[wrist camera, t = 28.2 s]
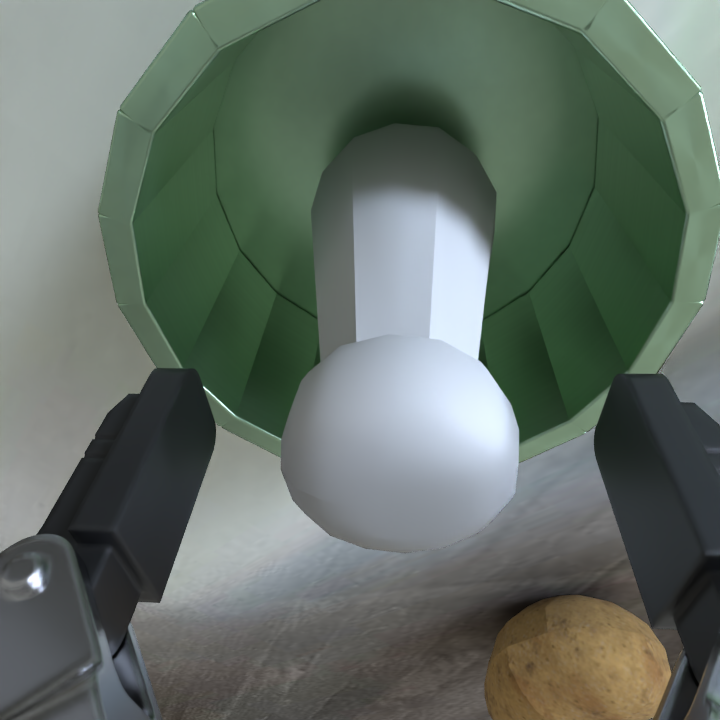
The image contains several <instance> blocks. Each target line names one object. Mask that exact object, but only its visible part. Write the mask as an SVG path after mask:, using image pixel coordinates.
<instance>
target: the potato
mask: <svg viewBox="0 0 720 720" xmlns="http://www.w3.org/2000/svg"><path fill="white" fill-rule="evenodd" d="M670 676H671V671H670V667H669V663H668V659H667V655H666V651H665V649H664V647H663V646H662V644H661V643H660V641H659V640H658V639H657V637H656V636H655V634H654V633H653V631H652V630H651V629H650V627H649V626H648V624H646V623H645V622H643V621H642V620H641V619H639V618H638V617H636V616H635V615H633V614H632V613H631V612H629V611H627V610H625V609H623V608H622V607H620V606H618V605H616V604H614V603H612V602H609V601H604V600H600V599H596V598H592V597H587V596H582V595H562V596H556V597H551V598H546V599H542V600H540V601H538V602H536V603H534V604H532V605H529V606H528V607H526V608H525V609H524V610H522V611H521V612H520V613H518V614H517V615H516V616H514V617H513V618H512V619H510V620H509V621H508V622H507V623H506V624H505V625H504V627H503V628H502V629H501V631H500V632H499V633H498V635H497V638H496V641H495V645H494V648H493V651H492V654H491V657H490V660H489V663H488V668H487V674H486V679H485V699H486V704H487V708H488V712H489V714H490V716H491V717H492V719H493V720H648V719H650V718H652V717H654V716H655V713H656V711H657V709H658V706H659V704H660V701H661V699H662V696H663V694H664V691H665V689H666V686H667V684H668V681H669V679H670Z"/></svg>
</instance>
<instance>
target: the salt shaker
mask: <svg viewBox="0 0 720 720" xmlns="http://www.w3.org/2000/svg"><path fill="white" fill-rule="evenodd" d="M496 197H497V192H496V190H495V188H494V187H493V185H492V183H491V181H490V179H489V177H488V175H487V174H486V172H485V170H484V168H483V166H482V164H481V163H480V161H479V159H478V157H477V156H476V155H475V154H474V153H473V152H472V151H471V150H469V149H468V148H467V147H465V146H464V145H463V144H461V143H460V142H458V141H457V140H456V139H454V138H453V137H451V136H450V135H449V134H447V133H446V132H444V131H443V130H442V129H440V128H439V127H430V126H420V125H409V124H398V123H394V124H391V125H388V126H385V127H382V128H379V129H376V130H373V131H371V132H368V133H365V134H362V135H359V136H356V137H354V138H353V139H352V140H351V141H350V142H349V143H348V144H347V145H346V147H345V148H344V149H343V150H342V151H341V152H340V153H339V154H338V155H337V156H336V158H335V159H334V160H333V161H332V162H331V163H330V164H329V165H328V166H327V167H326V169H325V170H324V171H323V172H322V174H321V178H320V181H319V184H318V188H317V191H316V195H315V198H314V201H313V205H312V208H311V223H312V238H313V253H314V269H315V284H316V299H317V314H318V329H319V344H320V359H321V362H320V363H319V364H318V365H316V366H315V367H314V368H313V369H312V370H310V371H309V372H308V373H307V374H306V376H305V377H304V378H303V379H302V381H301V382H300V385H299V388H298V391H297V393H296V396H295V399H294V401H293V404H292V407H291V410H290V412H289V415H288V418H287V422H286V425H285V428H284V432H283V435H282V438H281V471H282V474H283V476H284V479H285V481H286V484H287V487H288V489H289V492H290V495H291V497H292V500H293V501H294V502H295V503H296V504H297V505H298V506H299V508H300V509H301V510H302V511H303V512H304V513H305V514H306V515H307V516H308V517H309V518H311V519H312V520H313V521H314V522H315V523H316V524H318V525H319V526H320V527H321V528H322V529H323V530H324V531H326V532H327V533H328V534H329V535H330V536H333V537H336V538H338V539H341V540H344V541H346V542H349V543H352V544H355V545H357V546H360V547H363V548H365V549H373V550H382V551H391V552H399V553H411V552H418V551H425V550H432V549H439V548H445V547H448V546H450V545H452V544H455V543H457V542H459V541H462V540H464V539H466V538H468V537H471V536H473V535H475V534H478V533H479V532H480V531H481V530H483V529H484V528H485V527H486V526H487V525H488V524H490V523H491V522H492V521H493V519H494V518H495V517H496V516H497V515H498V514H499V513H500V511H501V510H502V509H503V508H504V507H505V506H506V505H507V503H508V502H509V501H510V500H511V499H512V498H513V497H514V495H515V491H516V481H517V472H518V463H519V428H518V425H517V421H516V418H515V415H514V412H513V409H512V405H511V403H510V402H509V400H508V399H507V398H506V396H505V395H504V393H503V392H502V390H501V389H500V387H499V386H498V384H497V383H496V381H495V380H494V378H493V377H492V375H491V374H490V373H489V371H488V370H487V369H486V367H485V366H484V365H483V364H482V363H481V362H480V361H478V356H479V347H480V338H481V329H482V320H483V311H484V302H485V293H486V286H487V279H488V272H489V266H490V259H491V253H492V246H493V240H494V233H495V216H496Z"/></svg>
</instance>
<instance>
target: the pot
mask: <svg viewBox="0 0 720 720" xmlns="http://www.w3.org/2000/svg"><path fill="white" fill-rule="evenodd" d="M700 90H701V86H700V85H699V84H698V83H697V82H696V81H695V79H694V78H693V77H692V76H691V75H690V73H689V72H688V71H687V70H686V69H685V67H684V66H683V65H682V64H681V63H680V62H679V60H678V59H677V58H676V57H675V56H674V54H673V53H672V52H671V51H670V50H669V49H668V47H667V46H666V45H665V44H664V43H663V41H662V40H661V39H660V38H659V37H658V36H657V34H656V33H655V32H654V31H653V30H652V28H651V27H650V26H649V25H648V24H647V23H646V21H645V20H644V19H643V18H642V17H641V15H640V14H639V13H638V12H637V11H636V10H635V8H634V7H633V6H632V5H631V4H630V2H629V1H628V0H204V1H203V2H201V3H199V4H197V5H195V7H194V8H193V10H191V11H189V12H188V13H187V14H186V16H185V17H184V19H183V20H182V21H181V23H180V24H179V26H178V27H177V28H176V30H175V31H174V32H173V34H172V35H171V37H170V38H169V39H168V41H167V42H166V43H165V45H164V46H163V48H162V49H161V50H160V52H159V53H158V54H157V56H156V57H155V59H154V60H153V61H152V63H151V64H150V66H149V67H148V68H147V70H146V71H145V72H144V74H143V75H142V77H141V78H140V79H139V81H138V82H137V83H136V85H135V86H134V88H133V89H132V90H131V92H130V93H129V94H128V96H127V97H126V99H125V100H124V101H123V103H122V104H121V106H120V110H118V112H117V116H116V121H115V126H114V131H113V136H112V142H111V147H110V152H109V157H108V162H107V167H106V172H105V178H104V183H103V188H102V193H101V198H100V203H99V208H98V213H99V215H98V217H99V222H100V227H101V231H102V236H103V241H104V246H105V250H106V255H107V260H108V265H109V269H110V274H111V279H112V283H113V288H114V293H115V298H116V302H117V303H118V306H119V308H120V310H121V311H122V313H123V314H124V316H125V318H126V319H127V321H128V323H129V324H130V326H131V327H132V329H133V331H134V332H135V334H136V335H137V337H138V339H139V340H140V342H141V344H142V345H143V347H144V348H145V350H146V352H147V353H148V355H149V356H150V358H151V360H152V361H153V363H154V365H155V366H156V368H193V369H196V370H197V372H198V373H199V376H200V378H201V381H202V384H203V387H204V390H205V393H206V396H207V399H208V402H209V405H210V408H211V411H212V414H213V417H214V420H215V423H216V424H217V425H218V426H222V428H223V429H225V430H227V431H229V432H231V433H233V434H235V435H237V436H239V437H241V438H243V439H245V440H247V441H249V442H251V443H253V444H255V445H257V446H259V447H261V448H263V449H265V450H267V451H269V452H271V453H273V454H275V455H277V456H279V457H281V438H282V435H283V432H284V428H285V425H286V422H287V418H288V415H289V412H290V410H291V407H292V404H293V401H294V399H295V396H296V393H297V391H298V388H299V385H300V382H301V381H302V379H303V378H304V377H305V376H306V374H307V373H308V372H309V371H310V370H312V369H313V368H314V367H315V366H316V365H318V364H319V363H320V362H321V359H320V344H319V329H318V314H317V299H316V284H315V269H314V253H313V238H312V223H311V208H312V205H313V201H314V198H315V195H316V191H317V188H318V184H319V181H320V178H321V174H322V172H323V171H324V170H325V169H326V167H327V166H328V165H329V164H330V163H331V162H332V161H333V160H334V159H335V158H336V156H337V155H338V154H339V153H340V152H341V151H342V150H343V149H344V148H345V147H346V145H347V144H348V143H349V142H350V141H351V140H352V139H353V138H354V137H356V136H359V135H362V134H365V133H368V132H371V131H373V130H376V129H379V128H382V127H385V126H388V125H391V124H394V123H398V124H409V125H420V126H430V127H439V128H440V129H442V130H443V131H444V132H446V133H447V134H449V135H450V136H451V137H453V138H454V139H456V140H457V141H458V142H460V143H461V144H463V145H464V146H465V147H467V148H468V149H469V150H471V151H472V152H473V153H474V154H475V155H476V156H477V157H478V159H479V161H480V163H481V164H482V166H483V168H484V170H485V172H486V174H487V175H488V177H489V179H490V181H491V183H492V185H493V187H494V188H495V190H496V192H497V197H496V216H495V233H494V240H493V246H492V253H491V259H490V266H489V272H488V279H487V286H486V293H485V302H484V311H483V320H482V329H481V338H480V347H479V356H478V361H480V362H481V363H482V364H483V365H484V366H485V367H486V369H487V370H488V371H489V373H490V374H491V375H492V377H493V378H494V380H495V381H496V383H497V384H498V386H499V387H500V389H501V390H502V392H503V393H504V395H505V396H506V398H507V399H508V400H509V402H510V403H511V405H512V409H513V412H514V415H515V418H516V421H517V425H518V428H519V463H521V462H523V461H525V460H527V459H529V458H532V457H534V456H536V455H538V454H541V453H543V452H545V451H547V450H550V449H552V448H554V447H556V446H558V445H561V444H563V443H565V442H567V441H570V440H572V439H574V438H576V437H579V436H581V435H583V434H584V433H585V432H588V431H589V430H591V429H592V428H593V427H594V426H596V425H597V423H598V420H599V417H600V414H601V412H602V409H603V406H604V403H605V400H606V398H607V395H608V392H609V389H610V386H611V384H612V381H613V379H614V377H615V376H616V375H617V374H657V373H658V371H659V370H660V368H661V367H662V365H663V364H664V362H665V361H666V359H667V358H668V356H669V355H670V353H671V352H672V350H673V349H674V347H675V346H676V344H677V343H678V341H679V340H680V338H681V337H682V335H683V334H684V332H685V331H686V329H687V328H688V326H689V325H690V323H691V322H692V320H693V319H694V317H695V316H696V314H697V313H698V311H699V310H700V308H701V307H702V305H703V301H704V300H705V299H706V294H707V290H708V285H709V281H710V276H711V272H712V267H713V263H714V258H715V254H716V249H717V245H718V240H719V236H720V168H719V164H718V159H717V155H716V150H715V146H714V141H713V137H712V132H711V128H710V124H709V119H708V115H707V110H706V106H705V101H704V97H703V93H702V92H701V91H700Z"/></svg>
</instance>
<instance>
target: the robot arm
mask: <svg viewBox="0 0 720 720" xmlns="http://www.w3.org/2000/svg"><path fill="white" fill-rule="evenodd" d="M215 439H216V426H215V420H214V417H213V414H212V411H211V408H210V405H209V402H208V399H207V396H206V393H205V390H204V387H203V384H202V381H201V378H200V376H199V373H198V372H197V370H196V369H193V368H156V369H154V370H153V371H152V372H151V374H150V376H149V377H148V379H147V381H146V383H145V385H144V387H143V389H142V390H141V392H140V394H128V395H127V396H126V397H125V398H124V399H123V400H122V401H120V402H119V403H118V404H117V405H116V406H115V407H114V408H113V409H112V410H110V411H109V412H108V413H107V415H106V417H105V419H104V420H103V422H102V424H101V426H100V427H99V429H98V431H97V432H96V434H95V439H92V441H91V443H90V445H89V446H88V448H87V450H86V451H85V457H84V458H81V460H80V462H79V464H78V465H77V467H76V469H75V471H74V472H73V474H72V476H71V477H70V479H69V481H68V483H67V484H66V486H65V488H64V490H63V491H62V493H61V495H60V496H59V498H58V500H57V502H56V503H55V505H54V507H53V509H52V510H51V512H50V514H49V516H48V517H47V519H46V521H45V522H44V524H43V526H42V527H41V529H40V530H39V532H38V533H37V535H35V536H31V537H28V538H25V539H23V540H21V541H19V542H17V543H15V544H13V545H11V546H10V547H8V548H7V549H5V550H4V551H3V552H2V553H0V720H163V719H162V716H161V713H160V710H159V707H158V704H157V701H156V698H155V694H154V691H153V688H152V685H151V682H150V679H149V676H148V673H147V669H146V666H145V663H144V660H143V657H142V654H141V651H140V648H139V645H138V641H137V638H136V635H135V632H134V629H133V626H132V624H131V622H130V621H131V618H132V616H133V613H134V611H135V608H136V605H137V603H138V602H153V603H160V601H161V598H162V596H163V593H164V590H165V587H166V584H167V581H168V578H169V576H170V573H171V570H172V567H173V564H174V561H175V558H176V556H177V553H178V550H179V547H180V544H181V541H182V538H183V536H184V533H185V530H186V527H187V524H188V521H189V518H190V516H191V513H192V510H193V507H194V504H195V501H196V498H197V496H198V493H199V490H200V487H201V484H202V481H203V478H204V476H205V473H206V470H207V467H208V464H209V461H210V458H211V456H212V453H213V450H214V445H215ZM594 450H595V456H596V460H597V463H598V466H599V469H600V472H601V475H602V478H603V481H604V484H605V488H606V491H607V494H608V497H609V500H610V503H611V506H612V509H613V512H614V515H615V518H616V521H617V524H618V527H619V530H620V533H621V536H622V539H623V542H624V545H625V548H626V551H627V554H628V557H629V560H630V563H631V566H632V569H633V572H634V575H635V578H636V581H637V584H638V587H639V590H640V593H641V596H642V599H643V602H644V605H645V608H646V612H647V615H648V618H649V621H650V624H651V627H652V629H673V630H678V633H679V635H680V638H681V641H682V644H683V646H684V648H683V650H682V651H681V653H680V654H679V656H678V659H677V661H676V664H675V666H674V669H673V671H672V674H671V676H670V679H669V681H668V684H667V686H666V689H665V691H664V694H663V696H662V699H661V701H660V704H659V706H658V709H657V711H656V713H655V716H654V718H653V720H720V426H719V424H718V423H717V422H715V421H714V420H713V419H712V418H711V417H710V416H709V415H707V414H706V413H705V412H704V411H703V410H702V409H701V408H699V407H698V406H697V405H696V404H695V403H683V402H680V401H679V399H678V397H677V395H676V393H675V391H674V389H673V388H672V386H671V384H670V382H669V380H668V379H667V378H666V376H664V375H663V374H617V375H616V376H615V377H614V379H613V381H612V384H611V386H610V389H609V392H608V395H607V398H606V400H605V403H604V406H603V409H602V412H601V414H600V417H599V420H598V423H597V426H596V429H595V435H594Z"/></svg>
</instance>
